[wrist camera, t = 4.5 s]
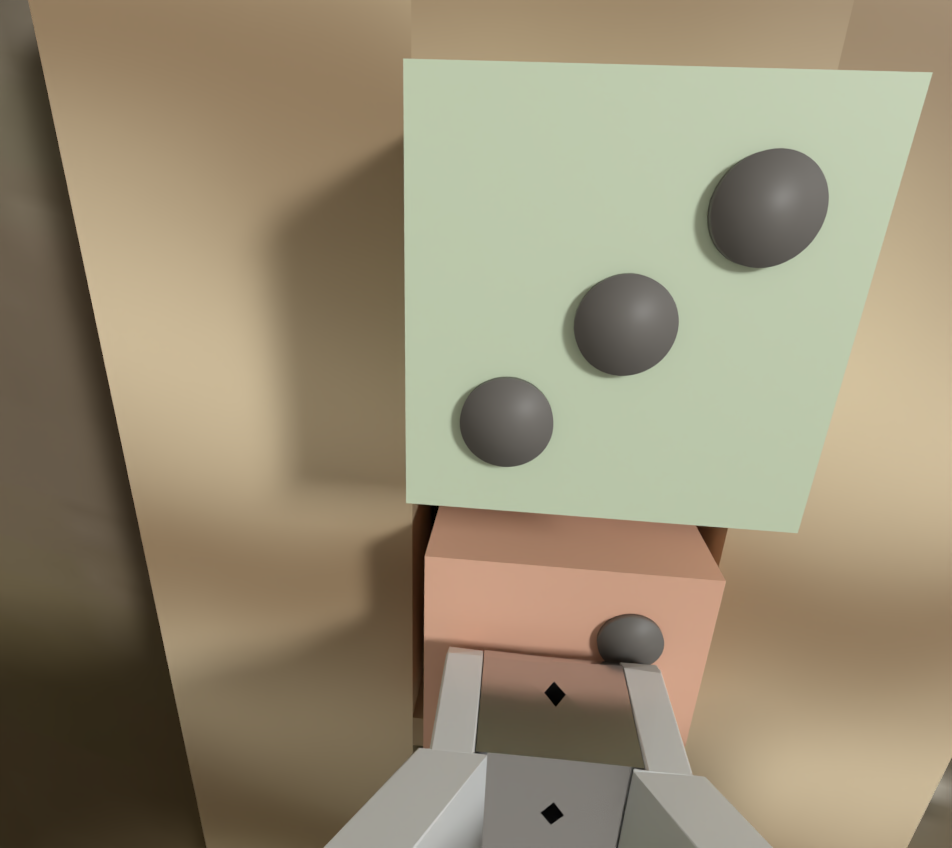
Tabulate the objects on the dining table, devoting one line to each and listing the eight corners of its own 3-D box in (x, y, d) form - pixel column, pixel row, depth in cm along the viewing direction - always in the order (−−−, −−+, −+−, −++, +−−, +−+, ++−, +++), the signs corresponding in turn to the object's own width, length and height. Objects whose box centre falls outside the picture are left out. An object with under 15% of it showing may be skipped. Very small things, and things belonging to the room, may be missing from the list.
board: (792, 892, 14) (832, 997, 12) (259, 831, 15) (221, 918, 13) (1153, -16, 7) (1374, -95, 5) (125, -32, 8) (4, -107, 6)
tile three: (705, 425, 8) (802, 538, 5) (444, 408, 9) (403, 507, 6) (767, 129, 7) (943, 68, 4) (450, 118, 7) (399, 55, 4)
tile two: (637, 649, 11) (676, 797, 9) (447, 632, 12) (421, 770, 9) (670, 478, 10) (728, 585, 7) (451, 462, 10) (423, 560, 7)
